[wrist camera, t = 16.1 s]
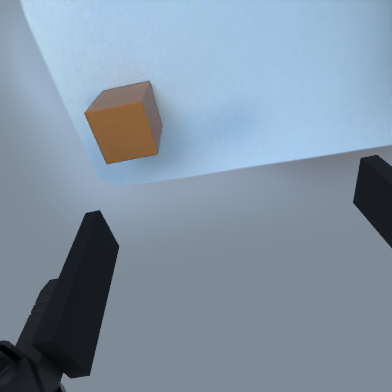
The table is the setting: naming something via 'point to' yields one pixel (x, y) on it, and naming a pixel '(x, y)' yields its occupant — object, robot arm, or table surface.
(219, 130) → the table surface
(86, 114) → the carton
